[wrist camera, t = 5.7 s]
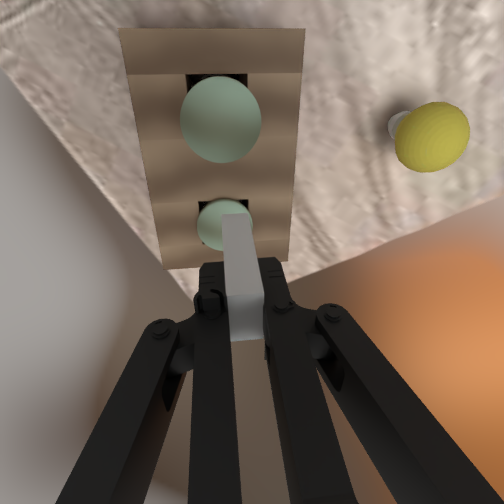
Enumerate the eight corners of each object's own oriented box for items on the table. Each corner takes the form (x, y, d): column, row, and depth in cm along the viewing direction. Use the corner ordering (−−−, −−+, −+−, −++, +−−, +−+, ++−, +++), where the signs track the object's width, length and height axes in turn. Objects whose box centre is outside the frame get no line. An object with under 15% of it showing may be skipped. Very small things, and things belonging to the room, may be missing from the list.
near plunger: (182, 67, 27) (174, 77, 20) (248, 67, 28) (262, 76, 21) (189, 136, 30) (184, 164, 24) (249, 134, 31) (260, 161, 24)
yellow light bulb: (358, 124, 37) (402, 148, 29) (408, 78, 35) (470, 90, 27) (387, 163, 40) (433, 195, 32) (434, 123, 38) (497, 146, 30)
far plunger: (196, 174, 37) (194, 203, 31) (244, 172, 38) (252, 200, 31) (200, 217, 40) (199, 252, 34) (245, 214, 41) (252, 249, 34)
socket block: (137, 30, 30) (117, 28, 23) (284, 30, 31) (305, 28, 25) (170, 233, 42) (163, 269, 36) (275, 227, 44) (287, 261, 37)
